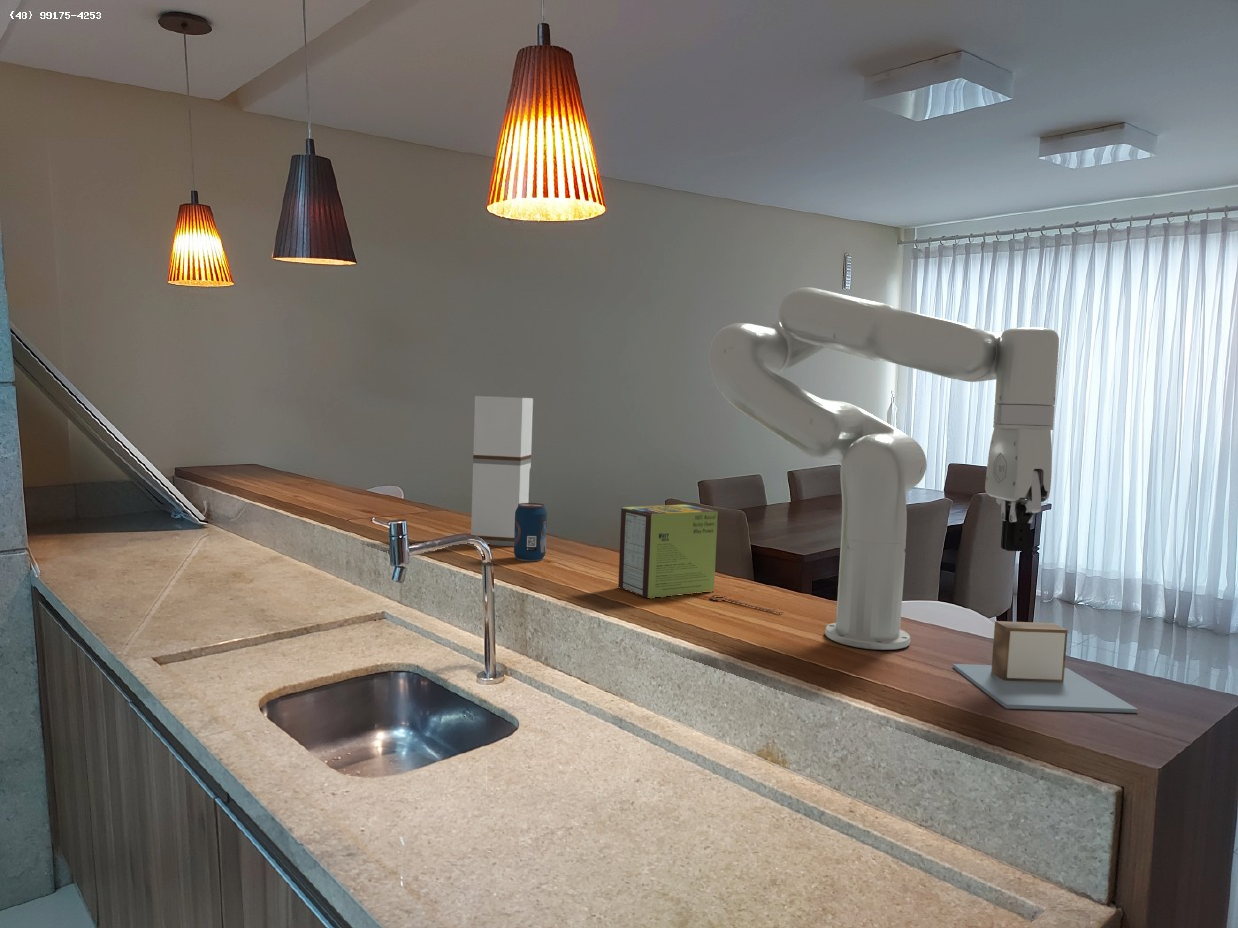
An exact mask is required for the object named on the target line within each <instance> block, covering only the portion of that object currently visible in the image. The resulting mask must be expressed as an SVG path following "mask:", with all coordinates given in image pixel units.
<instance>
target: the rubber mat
mask: <svg viewBox="0 0 1238 928" xmlns="http://www.w3.org/2000/svg"><path fill="white" fill-rule="evenodd" d="M952 669H954V670H955V671H956V672H957V673H959V674H961V675H962V676H963V677H964V678H966V679H967V680H968V681H970V682H971V683H972V684H973V685H975V686H976V687H977V688H979V689H980V690H981V691H983V692H984V693H985V694H987V695H988V696H989V697H991V698H992V699H994V700H995V702H997V703H998V704H999V705H1001V706H1002V707H1003V708H1005V709H1008V710H1009V709H1010V710H1011V709H1012V710H1013V709H1014V710H1035V711H1036V710H1037V711H1038V710H1039V711H1040V710H1041V711H1064V712H1065V711H1071V712H1094V713H1095V712H1098V713H1124V714H1125V713H1126V714H1127V713H1128V714H1138V708H1137V707H1135V706H1133V705H1131V704H1130V703H1128V702H1126V701H1124V700H1123V699H1121V698H1120V697H1118V696H1116V695H1114V694H1113V693H1111V692H1110V691H1108V690H1106V689H1104V688H1103V687H1100V686H1099V685H1097V684H1096V683H1093V682H1092V681H1090V680H1088V679H1087V678H1085V677H1083V676H1082V675H1080V674H1078V673H1076V672H1075V671H1073V670H1071V669H1070V668H1068V667H1065V670H1064V682H1039V681H1009V680H1002V679H1001V678H999V677H998V676H996V675H995V674H994V673H992V672H991V669H992V664H970V663H968V664H967V663H966V664H965V663H964V664H963V663H952Z"/></svg>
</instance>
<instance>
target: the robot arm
mask: <svg viewBox="0 0 1238 928" xmlns="http://www.w3.org/2000/svg"><path fill="white" fill-rule="evenodd" d="M777 311H778V312H777V319H778V320H777V321H776V322H774V323H772V324H770V325H769V326H763V325H760V324H755V323H748V322H747V323H746V322H737V323H736V322H735V323H731V324H729V325H727V326H724V327H723V328H720V330H718V331H717V332H716V334H715V335H714V336H713V338H712V339H711V342H710V346H709V351H708V364H709V370H710V374H711V378H712V380H713V382H714V384H715V386H716V388H717V390H718V391H719V393H720V394H721V396H723V398H724V399H725V400H726V401H727V402H728V403H729V404H730V405H732V407H734V408H735V409H736V410H738V411H740V413H742V414H744V416H746V417H747V418H749V419H751V420H753V421H754V422H756V424H759V425H761V427H764V428H765V429H766V430H767V431H769V432H770V433H772V434H773V435H776V437H778V438H780V439H781V440H783V441H785V442H786V443H787V444H789V445H791V446H792V447H794V448H796V449H797V450H798V451H800V452H801V453H802V454H804V455H805V456H807V457H809V458H812V459H815V460H833V459H834V461H837V462H839V463H840V469H839V470H840V471H839V472H840V473H839V474H840V476H839V477H840V478H839V479H840V489H841V491H840V492H841V530H840V549H839V550H840V552H839V553H840V554H839V567H838V569H839V570H838V581H837V582H838V586H837V599H836V616H835V617H836V619H835V621H836V622H832V623H831V622H830V623H829V624H827V625H826V626H825V628H824V629H825V631H824V633H825V636H826V637H827V639H830V640H831V641H833V642H836V643H838V644H841V645H845V646H849V647H853V648H860V649H865V650H877V651H878V650H879V651H886V650H887V651H891V650H899V649H900V650H901V649H904V648H907V647H908V646H910V644H911V635H910V634H909V633H908V632H906V631H905V630H903V629H901V624H902V623H901V621H902V606H903V605H902V604H903V592H904V591H903V590H904V578H905V577H904V576H905V563H906V562H905V560H906V549H907V548H906V546H907V545H906V544H907V541H906V540H907V528H908V527H907V526H908V524H907V523H908V520H907V519H908V518H907V517H908V511H907V510H908V509H907V501H906V492H907V491H909V490H912V489H913V488H915V487H917V486H918V485H919V484H920V483H921V481H922V479H923V478H924V476H925V474H926V471H927V456H926V454H925V451H924V449H923V447H922V446H921V445H920V444H919V443H918V442H917V441H916V440H915V439H914V438H913V437H911V436H910V435H908V434H906V433H905V432H903V431H901V430H900V429H897V428H896V427H894V426H892V425H891V424H889V423H887V422H886V421H883V420H882V419H880V418H878V417H877V416H875V415H873V414H871V413H870V412H868V411H866V410H864V409H863V408H861V407H859V406H858V405H854V404H852V403H849V402H846V401H842V400H831V399H825V398H822V397H819V396H817V395H814V394H813V393H811V392H809V391H807V390H806V389H803V388H801V387H800V386H798V385H797V384H795V383H794V382H793V381H790V380H789V379H788V378H785V377H783V376H781V375H780V374H782V373H784V372H786V371H788V370H791V369H792V368H794V367H795V366H797V365H799V364H801V363H802V362H804V361H806V360H808V359H810V358H811V357H814V356H815V355H817V354H819V353H820V352H822V351H823V350H825V349H830V350H835V351H837V352H841V353H846V354H848V355H852V356H856V357H860V358H864V359H867V360H871V361H874V362H875V361H882V362H888V363H892V364H895V365H898V366H903V367H906V368H911V369H914V370H918V371H922V372H926V373H929V374H933V375H937V376H940V377H943V378H948V379H952V380H958V381H963V382H968V383H969V382H970V383H977V382H987V381H995V382H996V383H995V394H994V410H993V423H992V424H993V425H992V428H993V431H992V435H991V438H990V439H991V440H990V442H989V443H990V444H989V450H988V456H987V465H986V473H985V474H986V475H985V484H984V485H985V486H984V490H985V492H986V494H987V495H988V496H989V497H992V498H995V501H996V503H997V505H999V506H1000V507H1001V508H1000V509H1001V511H1000V512H1001V513H1000V514H1001V515H1000V517H1001V520H1002V524H1001V539H1000V548H1001V549H1002V550H1005V551H1007V552H1028V551H1029V549H1030V539H1031V538H1030V537H1031V527H1032V526H1031V524H1033V519H1034V515H1035V514H1036V513H1040V512H1041V511H1042V503H1044V502H1046V501H1047V500H1048V499H1049V498H1050V494H1051V486H1052V472H1053V471H1052V469H1053V464H1052V463H1053V461H1052V460H1053V449H1052V448H1053V447H1052V446H1053V445H1052V433H1051V431H1053V430H1054V424H1055V423H1054V421H1055V407H1056V391H1057V379H1058V377H1057V376H1058V362H1059V349H1060V338H1059V334H1058V333H1057V332H1056V331H1055V330H1054V329H1051V328H1046V327H1037V326H1035V327H1033V326H1032V327H1031V326H1030V327H1013V328H1009V329H1005V330H1004V331H1003V332H996V331H995V332H994V331H988V330H985V329H981V328H978V327H975V326H972V325H969V324H966V323H961V322H957V321H954V320H948V319H943V318H940V317H934V316H930V315H926V314H923V313H917V312H913V311H909V310H903V309H901V308H897V307H895V306H893V305H890V304H886V303H883V302H878V301H872V300H870V299H864V298H860V297H856V296H851V295H846V294H843V293H842V294H841V293H837V292H834V291H829V290H825V289H820V288H816V287H810V286H808V287H799V288H796V289H792V290H791V291H790V292H788V293H787V294H786V295H785V296H784V298H782V300H781V302H780V304H779V307H778V310H777Z"/></svg>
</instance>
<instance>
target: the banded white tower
mask: <svg viewBox="0 0 1238 928" xmlns="http://www.w3.org/2000/svg"><path fill="white" fill-rule="evenodd" d="M533 408H534V398H532V397H511V396H491V395H490V396H488V395H486V396H484V395H474V413H473V414H474V417H473V418H474V420H473V424H474V425H473V450H472V451H473V454H472V456H473V457H472V487H471V488H472V489H471V490H472V491H471V498H472V499H471V519H470V520H471V522H470V523H471V524H470V526H471V527H470V536H471V535H476V536H478V537H480V538H482V539H483V540H484V541H485V542H487V543H489V544H490V545H489V546H500V547H501V546H502V547H514V530H515V511H516V509H517V507H518V504H519V503H530V502H529V499H530V498H529V494H530V493H529V492H530V470H531V469H532V466H531V465H532V446H533V443H532V441H533V411H534V410H533Z"/></svg>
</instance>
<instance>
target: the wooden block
mask: <svg viewBox="0 0 1238 928" xmlns="http://www.w3.org/2000/svg"><path fill="white" fill-rule="evenodd" d="M1068 631H1069V630H1068V629H1066V628H1064V627H1062V626H1060V625H1058V624H1057V623H1054V622H1036V621H1035V622H1033V621H1032V622H1031V621H1030V622H1028V621H1026V622H1025V621H1005V620H1004V621H1002V620H1000V621H999V620H995V621H994V630H993V643H992V644H993V645H992V657H991V658H992V659H991V665H992V669H991V672H992V673H994V674H995V675H996V676H998V677H999V678H1001V679H1002V680H1009V681H1039V682H1064V670H1065V668H1066V666H1065V665H1066V657H1067V656H1066V653H1067V644H1068Z"/></svg>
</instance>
